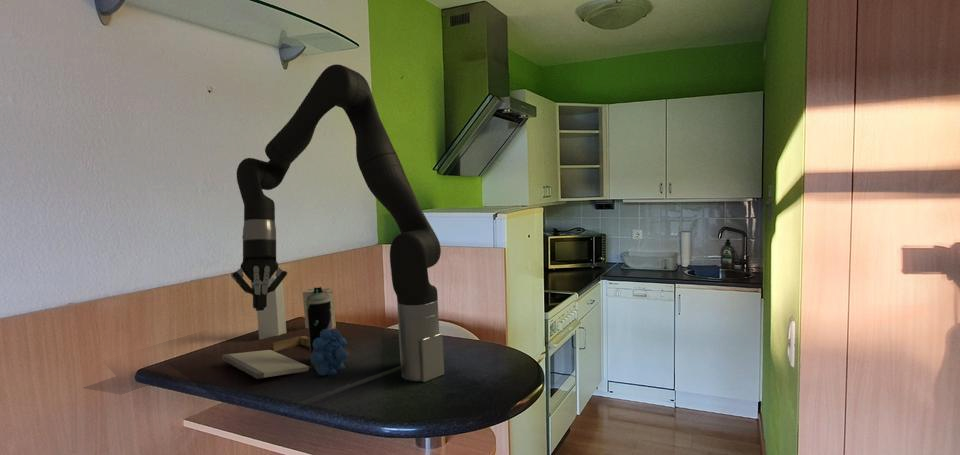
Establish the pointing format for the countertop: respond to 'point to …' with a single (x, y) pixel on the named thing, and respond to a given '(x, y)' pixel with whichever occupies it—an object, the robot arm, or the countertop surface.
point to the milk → (272, 313)
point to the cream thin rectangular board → (264, 363)
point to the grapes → (329, 352)
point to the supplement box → (330, 292)
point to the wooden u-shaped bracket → (294, 344)
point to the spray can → (318, 315)
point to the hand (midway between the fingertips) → (259, 310)
